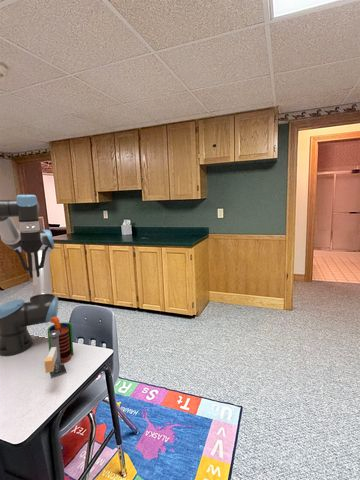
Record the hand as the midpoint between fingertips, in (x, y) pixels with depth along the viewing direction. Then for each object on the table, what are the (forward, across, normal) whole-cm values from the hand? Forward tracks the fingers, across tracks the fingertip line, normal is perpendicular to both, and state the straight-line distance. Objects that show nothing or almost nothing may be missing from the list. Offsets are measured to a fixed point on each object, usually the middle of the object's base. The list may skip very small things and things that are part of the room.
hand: (35, 284), depth 115 cm
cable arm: (+28, +1, -20) cm, 34 cm away
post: (+36, +4, -13) cm, 39 cm away
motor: (+37, +7, -4) cm, 37 cm away
